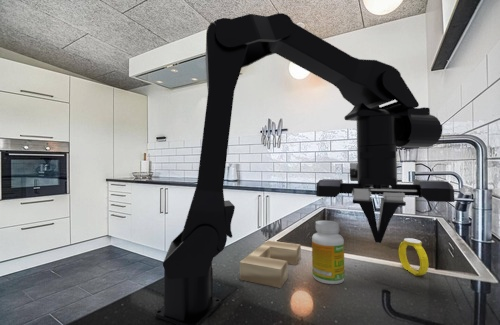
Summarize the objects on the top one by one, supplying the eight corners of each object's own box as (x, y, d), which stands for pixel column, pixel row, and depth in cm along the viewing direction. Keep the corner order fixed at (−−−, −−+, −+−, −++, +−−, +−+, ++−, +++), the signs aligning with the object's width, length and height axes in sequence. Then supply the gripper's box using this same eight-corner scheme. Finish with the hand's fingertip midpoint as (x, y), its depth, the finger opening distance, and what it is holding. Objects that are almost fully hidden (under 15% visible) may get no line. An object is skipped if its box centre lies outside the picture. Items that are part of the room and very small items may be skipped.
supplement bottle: (339, 288, 38) (337, 227, 39) (307, 279, 42) (306, 223, 42) (348, 276, 43) (347, 221, 43) (319, 269, 46) (318, 218, 46)
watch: (432, 280, 42) (433, 246, 41) (417, 280, 42) (417, 247, 41) (408, 264, 48) (408, 234, 47) (394, 264, 48) (395, 235, 47)
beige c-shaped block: (280, 288, 39) (280, 269, 39) (239, 279, 42) (239, 262, 42) (300, 258, 51) (300, 244, 51) (268, 253, 54) (268, 240, 55)
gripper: (432, 148, 43) (434, 236, 42) (324, 152, 51) (325, 226, 50) (453, 141, 33) (457, 257, 32) (315, 147, 41) (316, 240, 40)
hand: (378, 242), depth 39 cm, fingers closed
